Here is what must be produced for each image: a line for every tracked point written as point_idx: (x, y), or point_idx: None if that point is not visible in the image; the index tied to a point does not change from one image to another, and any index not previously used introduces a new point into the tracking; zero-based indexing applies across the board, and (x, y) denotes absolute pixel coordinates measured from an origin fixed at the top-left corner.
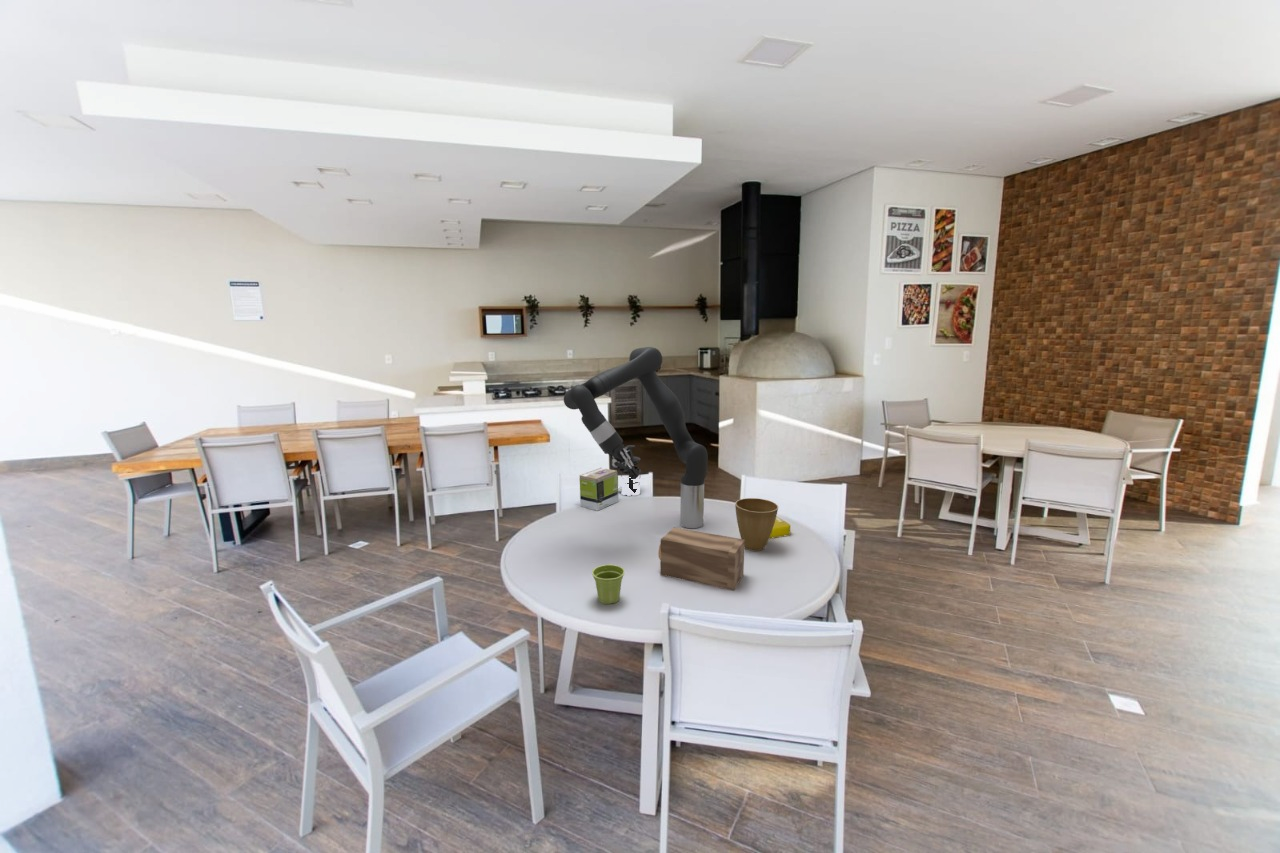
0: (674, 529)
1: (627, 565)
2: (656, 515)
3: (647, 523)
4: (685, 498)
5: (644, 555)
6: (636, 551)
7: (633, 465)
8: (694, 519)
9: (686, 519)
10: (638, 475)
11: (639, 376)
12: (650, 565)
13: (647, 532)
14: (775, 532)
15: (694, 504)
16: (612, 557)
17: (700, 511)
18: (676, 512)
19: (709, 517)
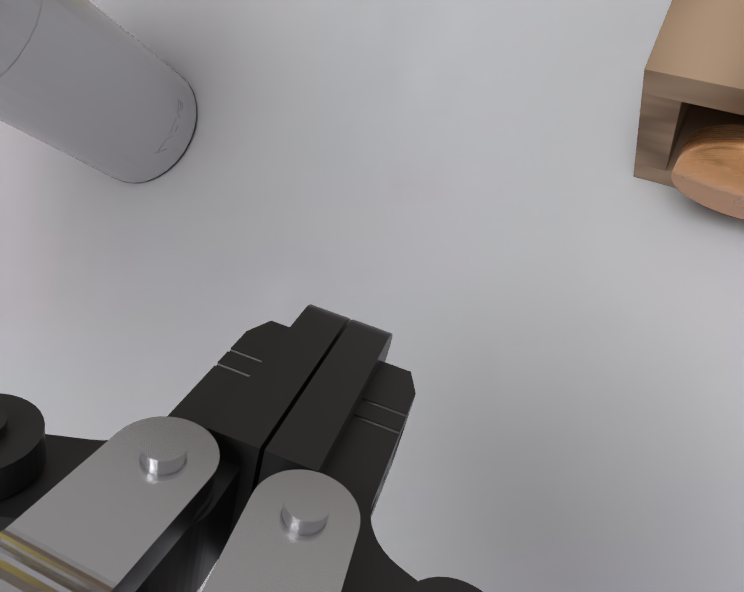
0: (699, 57)
1: (738, 456)
2: (28, 314)
3: (123, 358)
4: (57, 74)
5: (566, 352)
6: (510, 405)
7: (173, 420)
8: (165, 83)
9: (157, 127)
10: (338, 315)
11: None
12: (718, 307)
13: None
14: None
15: (101, 35)
16: (617, 563)
17: (126, 31)
18: (2, 214)
19: None
